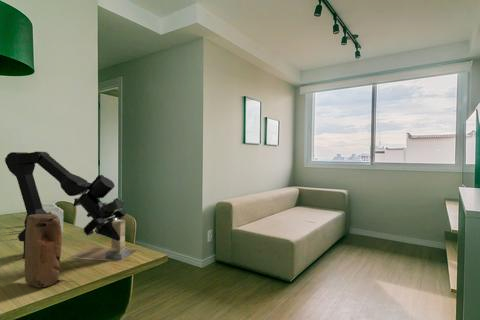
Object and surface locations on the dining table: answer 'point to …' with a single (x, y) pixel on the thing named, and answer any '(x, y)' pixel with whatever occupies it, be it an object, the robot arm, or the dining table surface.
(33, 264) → the block
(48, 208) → the storage container
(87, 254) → the plank
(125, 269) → the dining table surface
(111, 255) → the wooden post with base
